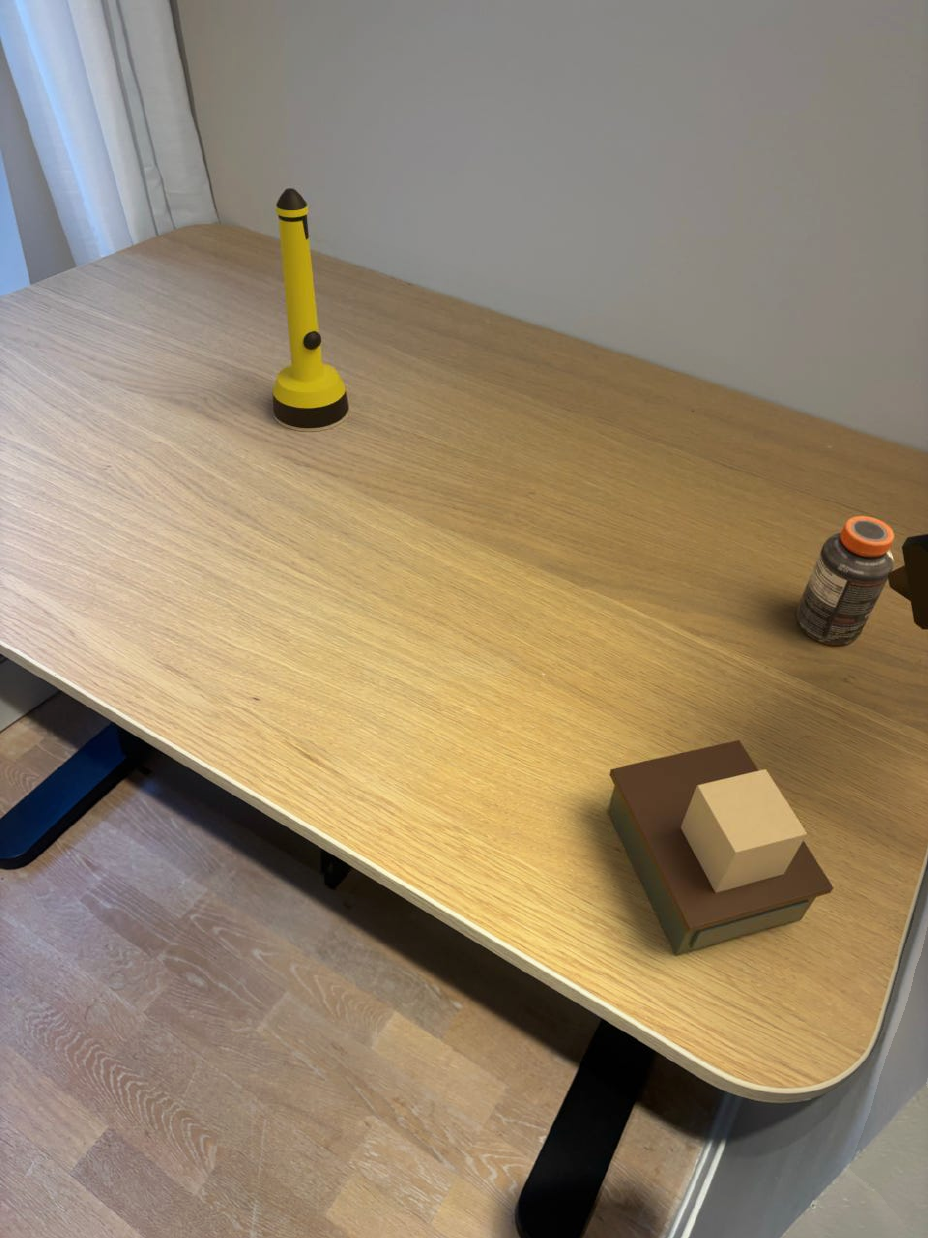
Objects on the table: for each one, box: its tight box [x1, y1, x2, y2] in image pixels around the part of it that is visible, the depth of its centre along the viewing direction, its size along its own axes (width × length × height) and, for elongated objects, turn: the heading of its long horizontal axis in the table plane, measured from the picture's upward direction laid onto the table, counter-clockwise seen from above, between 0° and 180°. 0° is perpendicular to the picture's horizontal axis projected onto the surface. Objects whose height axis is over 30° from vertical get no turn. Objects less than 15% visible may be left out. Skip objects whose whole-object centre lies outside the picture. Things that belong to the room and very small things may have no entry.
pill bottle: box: [795, 515, 895, 646], centre depth 77 cm, size 6×6×11 cm
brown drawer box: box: [607, 739, 834, 957], centre depth 61 cm, size 12×10×5 cm
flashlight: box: [272, 187, 350, 433], centre depth 95 cm, size 25×9×9 cm
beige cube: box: [681, 768, 808, 893], centre depth 56 cm, size 5×5×5 cm
